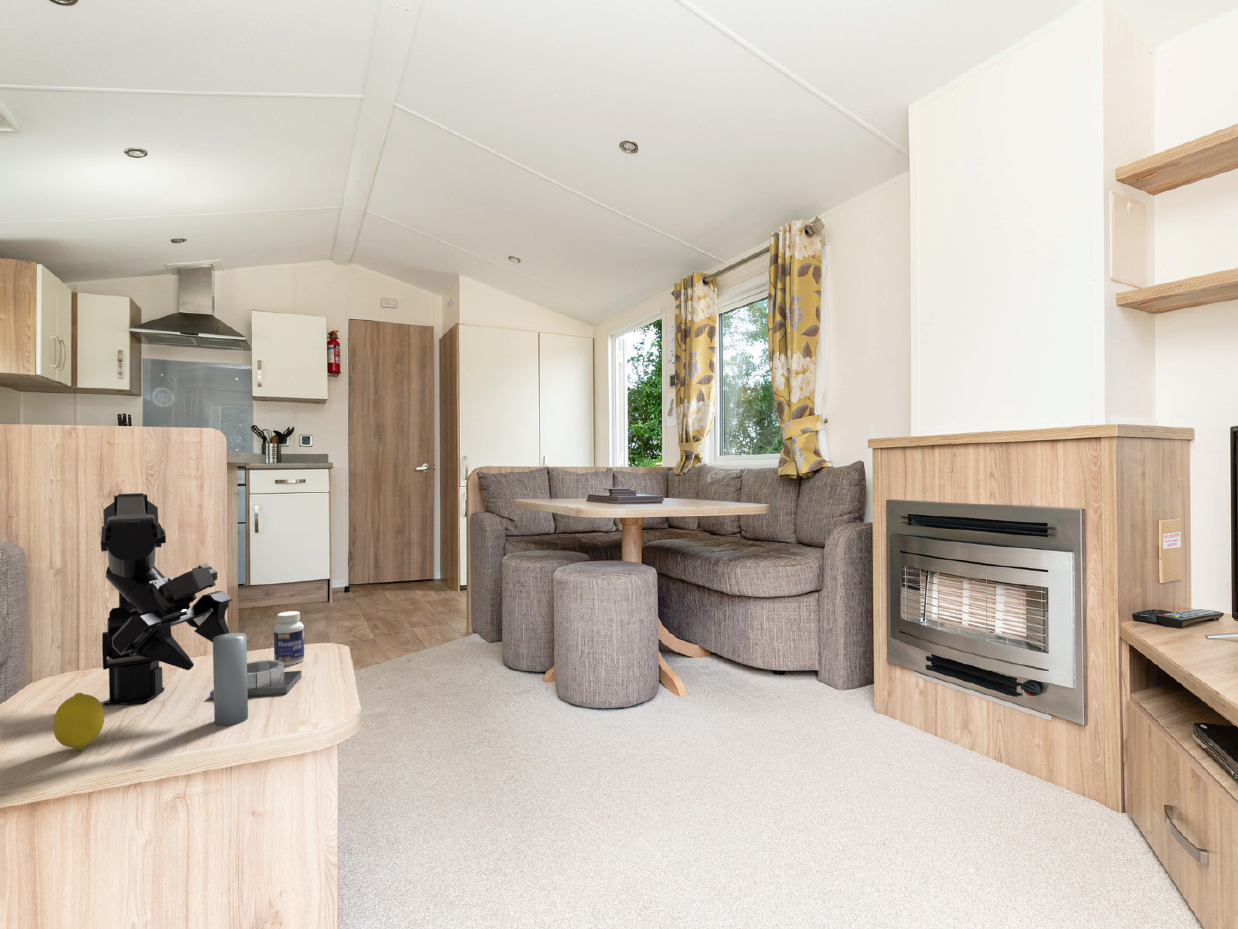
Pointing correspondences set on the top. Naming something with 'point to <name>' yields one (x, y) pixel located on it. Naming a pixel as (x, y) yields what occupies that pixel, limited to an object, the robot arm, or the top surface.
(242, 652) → the grey rounded cylinder
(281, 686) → the duct plate
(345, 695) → the top surface
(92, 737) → the lemon
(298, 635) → the pill bottle
